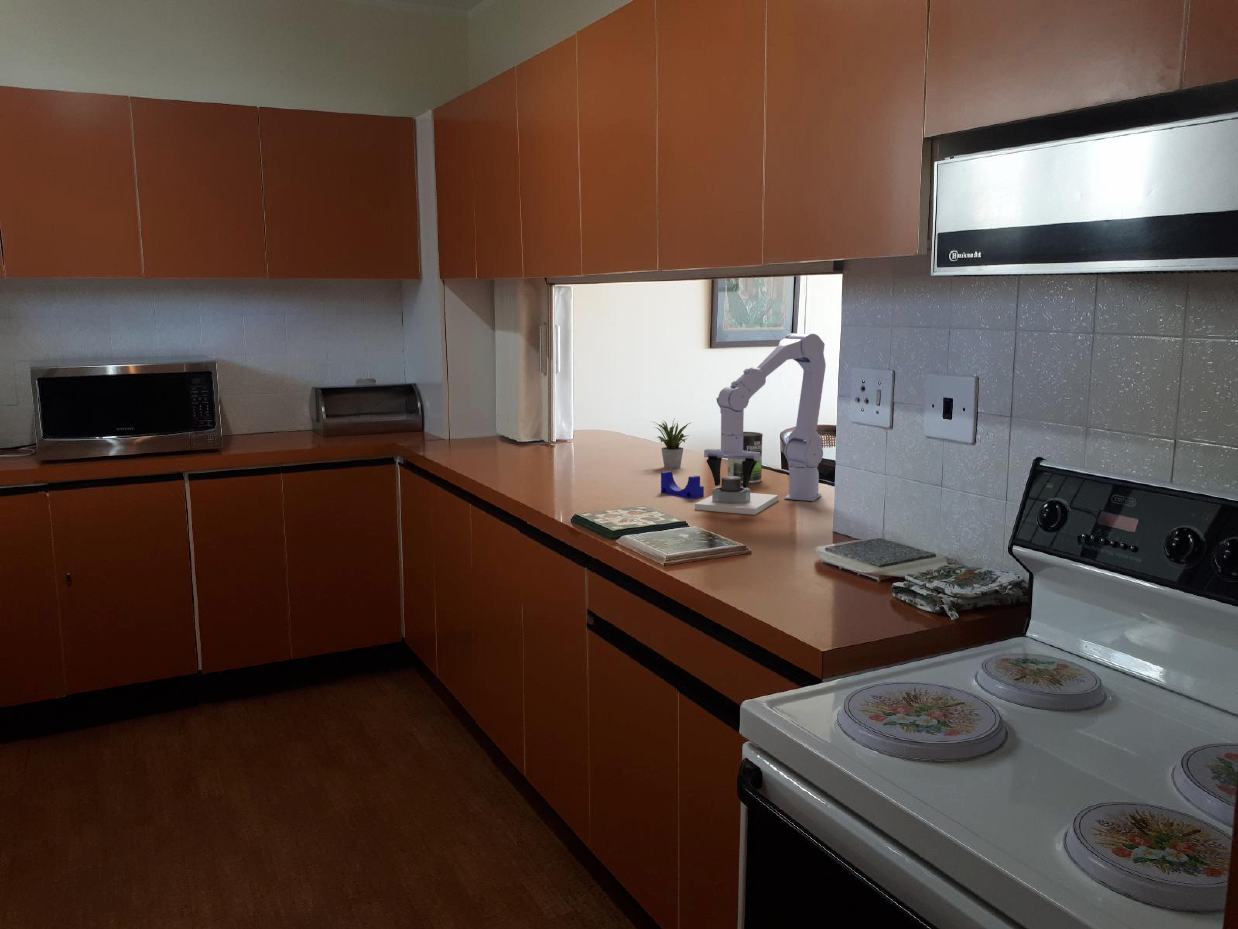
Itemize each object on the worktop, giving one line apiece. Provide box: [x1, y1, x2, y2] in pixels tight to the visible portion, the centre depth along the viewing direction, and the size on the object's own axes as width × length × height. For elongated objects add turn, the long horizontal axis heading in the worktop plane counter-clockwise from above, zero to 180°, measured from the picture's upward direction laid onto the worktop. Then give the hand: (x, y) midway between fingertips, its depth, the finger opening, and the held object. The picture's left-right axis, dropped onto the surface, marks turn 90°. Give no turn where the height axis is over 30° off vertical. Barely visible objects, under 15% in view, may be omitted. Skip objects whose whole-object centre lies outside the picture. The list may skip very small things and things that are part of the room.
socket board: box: [694, 485, 779, 516], centre depth 259 cm, size 20×16×4 cm
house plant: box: [649, 417, 692, 469], centre depth 318 cm, size 14×14×16 cm
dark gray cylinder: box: [720, 475, 742, 492], centre depth 257 cm, size 5×5×6 cm
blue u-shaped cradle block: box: [660, 470, 705, 500], centre depth 273 cm, size 12×4×6 cm, turn 43°
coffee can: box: [727, 431, 764, 484], centre depth 294 cm, size 10×10×14 cm
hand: (731, 486), depth 257 cm, fingers open, 7 cm apart
